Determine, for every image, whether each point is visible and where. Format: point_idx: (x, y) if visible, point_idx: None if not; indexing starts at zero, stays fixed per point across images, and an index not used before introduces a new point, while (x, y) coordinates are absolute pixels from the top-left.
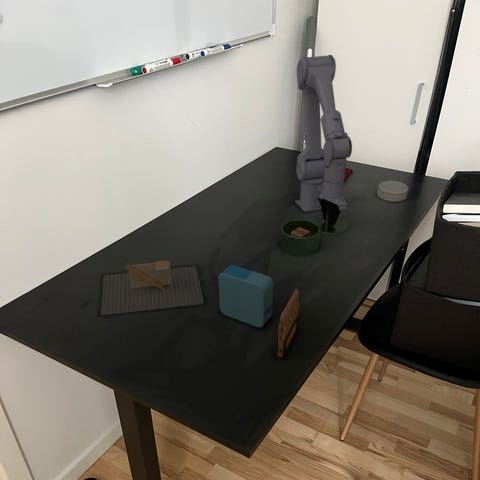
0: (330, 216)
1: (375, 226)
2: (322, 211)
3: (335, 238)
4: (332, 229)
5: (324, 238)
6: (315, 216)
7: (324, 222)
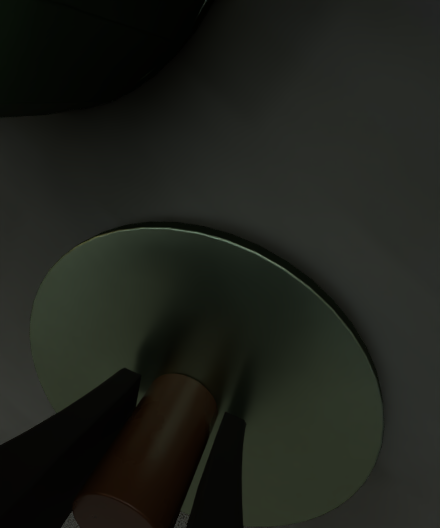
0: (18, 442)
1: (68, 517)
2: (218, 506)
3: (26, 278)
4: (86, 343)
5: (53, 211)
6: (380, 439)
7: (222, 395)
